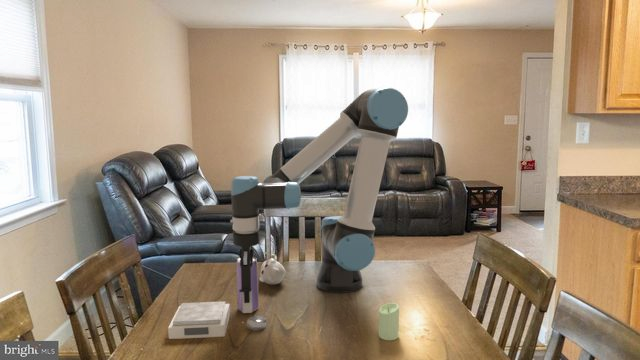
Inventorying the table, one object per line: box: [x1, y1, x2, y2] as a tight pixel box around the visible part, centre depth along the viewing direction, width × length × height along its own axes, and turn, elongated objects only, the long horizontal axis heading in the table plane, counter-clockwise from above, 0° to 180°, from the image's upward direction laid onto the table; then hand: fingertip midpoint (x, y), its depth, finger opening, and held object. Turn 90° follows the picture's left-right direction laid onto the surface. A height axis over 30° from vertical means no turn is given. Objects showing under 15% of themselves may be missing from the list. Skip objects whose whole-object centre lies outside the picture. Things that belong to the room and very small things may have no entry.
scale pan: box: [173, 301, 227, 325], centre depth 129 cm, size 12×12×1 cm
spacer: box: [246, 315, 267, 332], centre depth 129 cm, size 5×5×2 cm
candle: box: [378, 302, 400, 341], centre depth 122 cm, size 5×5×8 cm
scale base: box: [167, 303, 231, 340], centre depth 129 cm, size 14×14×3 cm
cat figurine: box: [258, 253, 287, 285], centre depth 162 cm, size 10×8×15 cm
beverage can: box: [236, 256, 260, 313], centre depth 139 cm, size 6×6×15 cm
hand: (248, 307), depth 140 cm, fingers closed on beverage can, 6 cm apart
